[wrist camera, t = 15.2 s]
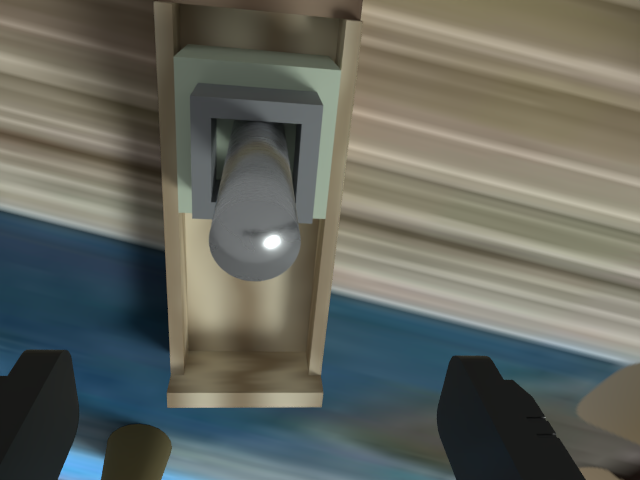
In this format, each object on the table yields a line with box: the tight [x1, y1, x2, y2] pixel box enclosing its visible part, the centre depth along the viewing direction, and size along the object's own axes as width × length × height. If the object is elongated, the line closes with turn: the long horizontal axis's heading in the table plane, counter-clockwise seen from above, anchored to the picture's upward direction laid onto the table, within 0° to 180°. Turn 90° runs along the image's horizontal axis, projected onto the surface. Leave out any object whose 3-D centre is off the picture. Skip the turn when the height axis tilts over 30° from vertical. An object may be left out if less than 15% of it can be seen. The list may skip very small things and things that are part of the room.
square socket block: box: [173, 44, 341, 224], centre depth 31 cm, size 9×9×10 cm
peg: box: [209, 120, 301, 281], centre depth 23 cm, size 3×3×14 cm
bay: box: [154, 0, 363, 408], centre depth 36 cm, size 12×30×6 cm, turn 175°
